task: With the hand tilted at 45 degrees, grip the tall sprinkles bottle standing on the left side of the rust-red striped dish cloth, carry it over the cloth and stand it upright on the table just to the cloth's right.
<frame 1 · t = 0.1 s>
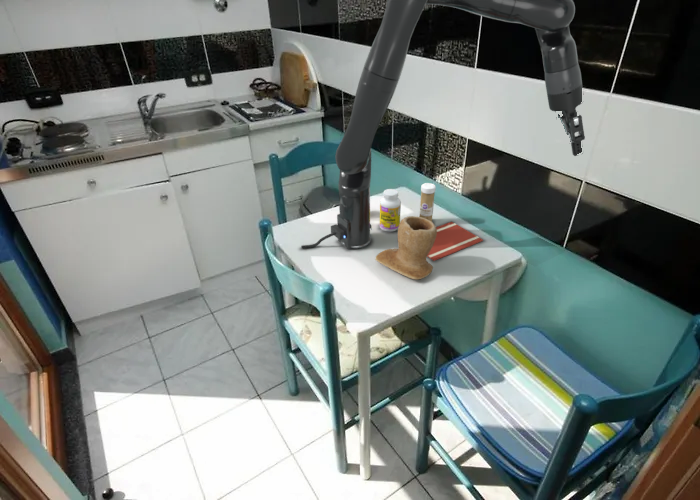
hand: (572, 148, 106), 31 cm above the table, tool tilted 20°, fingers open, 8 cm apart
supplement bottle: (389, 227, 138), on the table
dish cloth: (443, 240, 130), on the table
sprinkles bottle: (425, 222, 140), on the table
stone cup: (407, 267, 119), on the table
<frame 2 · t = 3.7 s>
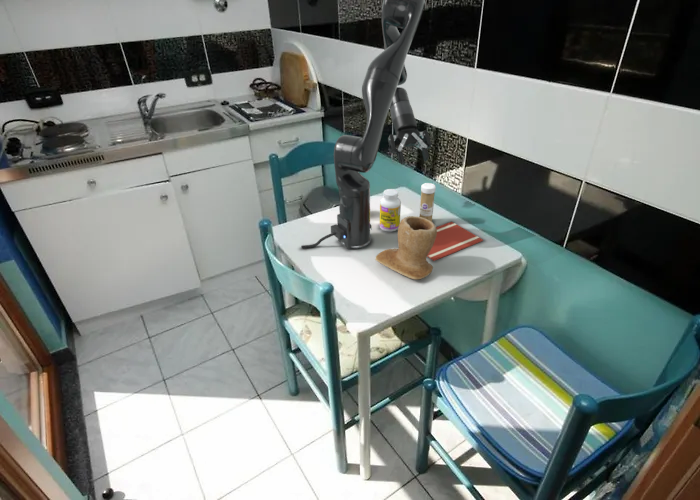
hand: (414, 161, 140), 17 cm above the table, tool tilted 45°, fingers open, 8 cm apart
nothing on the table moved.
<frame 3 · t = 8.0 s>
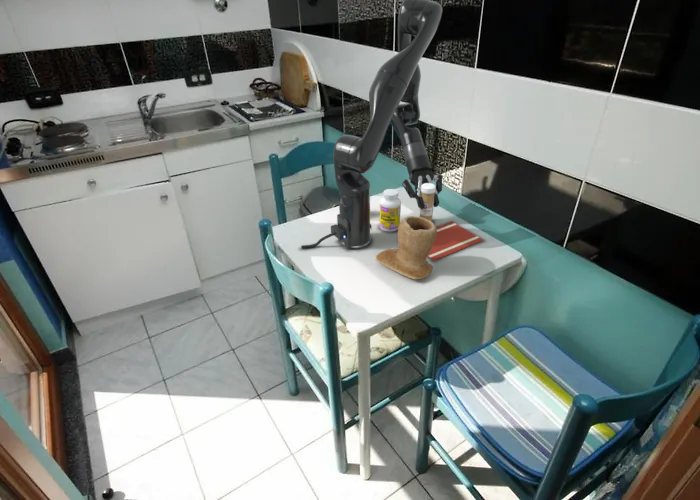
hand: (429, 207, 135), 7 cm above the table, tool tilted 45°, fingers closed on sprinkles bottle, 4 cm apart
sprinkles bottle: (425, 222, 140), on the table, touching gripper
everything else where it was.
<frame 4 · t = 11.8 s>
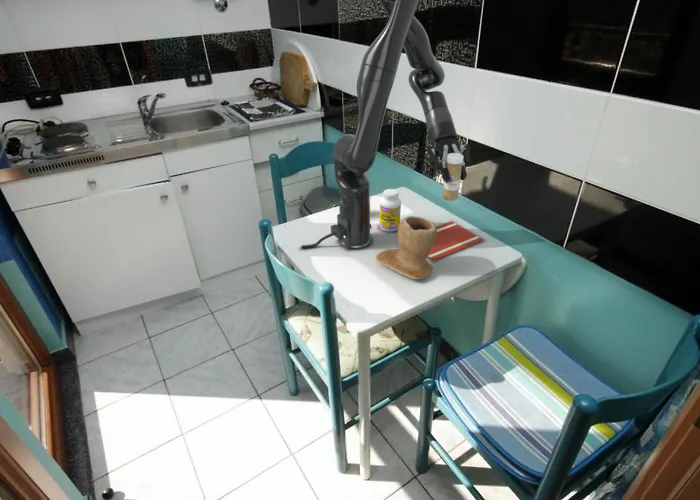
hand: (456, 180, 120), 20 cm above the table, tool tilted 45°, fingers closed on sprinkles bottle, 4 cm apart
sprinkles bottle: (450, 198, 125), point 13 cm above the table, touching gripper
everything else where it was.
when the fingers open (7 cm above the table, at t = 15.8 s): sprinkles bottle stays where it is, on the table.
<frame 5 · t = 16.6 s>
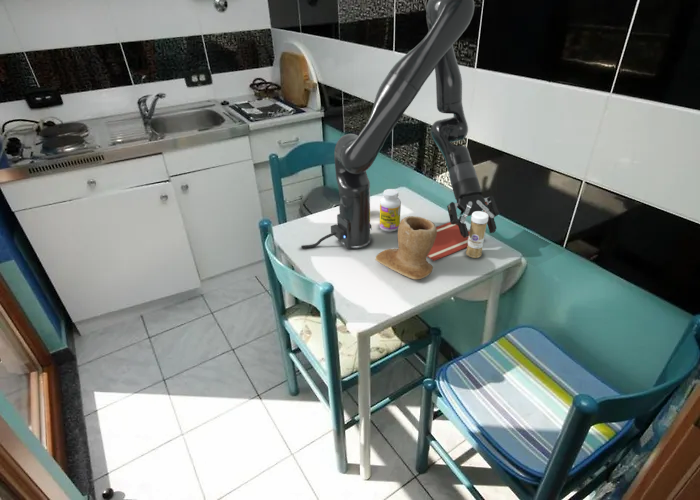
hand: (479, 234, 118), 8 cm above the table, tool tilted 45°, fingers open, 8 cm apart
sprinkles bottle: (473, 254, 123), on the table
everything else where it was.
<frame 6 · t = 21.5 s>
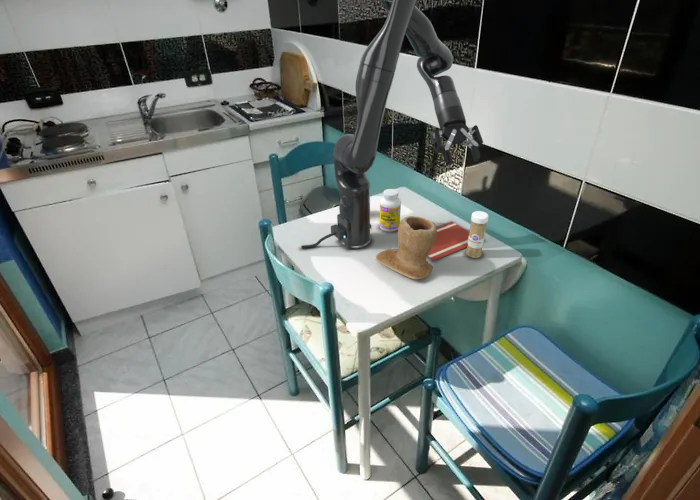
hand: (463, 162, 119), 24 cm above the table, tool tilted 45°, fingers open, 8 cm apart
nothing on the table moved.
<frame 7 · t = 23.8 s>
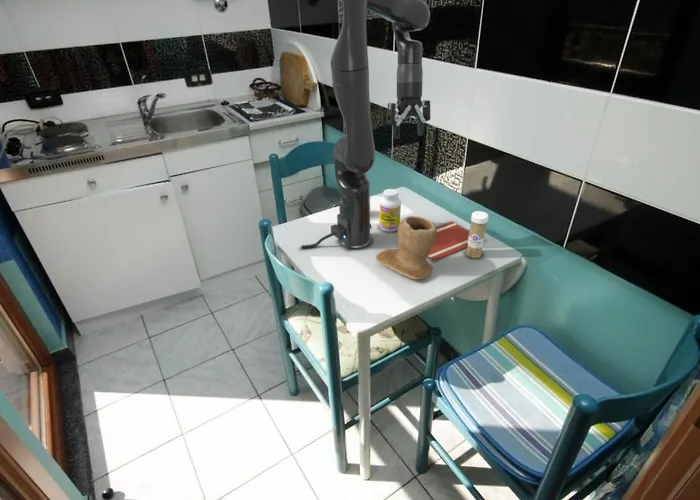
hand: (408, 137, 129), 28 cm above the table, tool pointing down, fingers open, 8 cm apart
nothing on the table moved.
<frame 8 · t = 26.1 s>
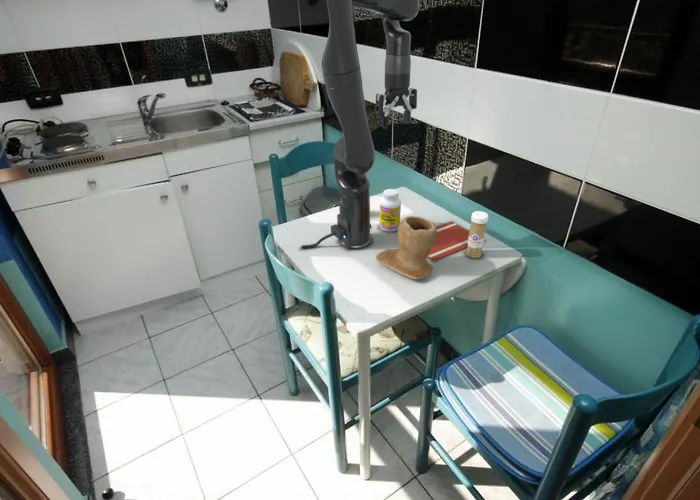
hand: (395, 125, 131), 30 cm above the table, tool pointing down, fingers open, 8 cm apart
nothing on the table moved.
at the end: sprinkles bottle inside the target area (1.7 cm from its centre), on the table; sprinkles bottle tilted 0°; sprinkles bottle touching table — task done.
